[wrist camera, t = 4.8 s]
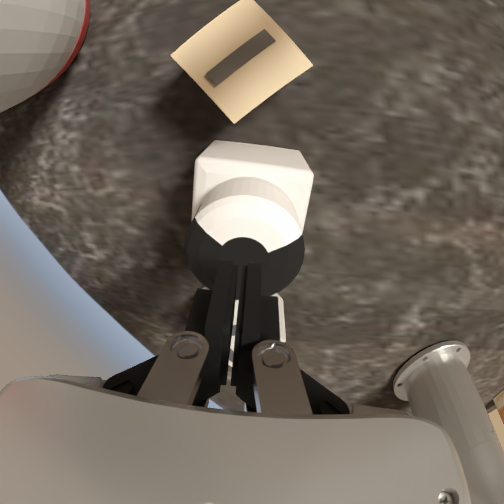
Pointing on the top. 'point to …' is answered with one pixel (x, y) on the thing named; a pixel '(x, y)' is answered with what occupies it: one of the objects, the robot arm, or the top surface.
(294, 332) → the top surface
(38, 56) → the citrus juicer
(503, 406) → the coffeecake box
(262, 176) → the medicine bottle
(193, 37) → the maple block one
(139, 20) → the top surface
